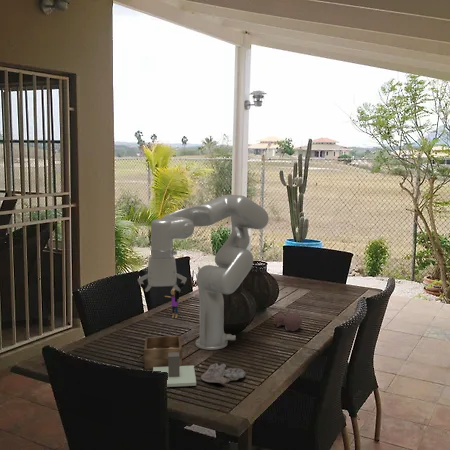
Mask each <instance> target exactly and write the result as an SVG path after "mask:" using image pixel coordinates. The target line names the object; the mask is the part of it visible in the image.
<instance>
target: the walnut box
mask: <svg viewBox="0 0 450 450" xmlns="http://www.w3.org/2000/svg"><path fill="white" fill-rule="evenodd" d="M181 337H182V336H181V335H169V336H166V335H165V336H145V337H144V348H143V353H144V354H143V358H144V370H153V367H168V353H173V352H179V365H180V366H183V362H182V361H183V359H182V358H183V356H182V355H183V354H182V353H183V350H182V349H183V348H182V347H183V346H182V338H181ZM169 347H173V348H169ZM153 348H157V349H153Z"/></svg>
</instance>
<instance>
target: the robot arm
mask: <svg viewBox="0 0 450 450" xmlns="http://www.w3.org/2000/svg"><path fill="white" fill-rule="evenodd" d="M229 217H230V223H231V230H230V231H231V232H230V235H229V237H228V238H227V239H226V241H225V242H224V243H223V244H222V246H220V248H219V250H218V251H216V254H215V257H214V262H215V265H212V264H207V265H204V266H202V267H200V268H199V269H198V272H197V275H196V285H197V289H198V298H199V301H198V302H199V307H198V308H199V314H198V315H199V316H198V318H199V323H198V324H199V333H198V334H199V338H197V339H196V340H195V346H196V347H197V348H199V349H202V350H208V351H214V350H216V351H217V350H220V349H224V348H225V347H227V346H228V341H236V335H235V334H234V335H232V334H231V333H225V331H224V326H225V324H224V321H225V320H224V319H225V316H224V308H225V305H224V304H225V302H224V301H225V300H224V295H231V294H233V293H234V292H235V291H237V289H238V288H239V287H240V285H241V284H242V283H243V281H244V280H245V278H246V277H247V276H248V275H249V273H250V271H251V270H252V268H253V265H254V256H253V254H252V252H251V251H250V250H249V249H247V248H248V246H249V244H250V236H249V229H252V230H262V229H264V228H265V227H266V226H267V225H268V222H269V214H268V212H267V211H266V209H265V208H263V206H261V205H259V204H258V203H256V201H253V200H252V199H251V198H249V197H247V196H244V195H238V194H224V195H221V196H219V197H216V198H214V199H212V200H210V201H207V202H204V203H203V204H202V203H201V204H198V205H195V206H190V207H185V208H180V209H178V210H176V211H173V212H171V213H168V214H166V215H164V216H162V218H158V219H157V218H156V219H153V220H152V221H150V240H151V241H150V250H151V252H150V254H151V256H150V257H149V259H148V266H147V273H146V274H144V275H142V276H141V277H138V278H137V282H138V285H139V286H140V288H142V289H143V291H145V300H146V301H147V303H148V304H149V303H151V288H152V287H155V288H157V287H172V286H173V287H174V288H175V302H177V299H178V300H180V299H179V298H180V293H179V290H181V289H183V287H184V286H185V284H186V282H187V279H188V278H187V277H185V276H183V275H182V274H181V273H177V263H176V258H175V256H176V255H177V254H178V252H177V250H174V249H173V242H174V241H173V240H179V239H180V240H183V239H188V238H190V237H191V236H193V234H194V232H195V227H206V226H207V227H208V226H212V225H214V224H216V223H218V222H221V221H223V220H225V219H227V218H229ZM177 279H180V280H181V282H180V283H179V284H177V283H178V282H177V281H178V280H177ZM145 280H147V285H146V284H145V283H144V281H145ZM173 287H172V288H173Z"/></svg>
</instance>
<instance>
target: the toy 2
mask: <svg viewBox="0 0 450 450" xmlns="http://www.w3.org/2000/svg"><path fill="white" fill-rule="evenodd" d="M273 322H274V325H276V327H281V326H284V328H285V330H286V331H290V332H295V331H297V330H298V329H299V328H300V327H301V326H302V325H303V320H302V318H301V316H300V315H299V314H298V313H296V312H287V313H286V314H284V313H283V312H279V313H276V314H275V316H274V318H273Z"/></svg>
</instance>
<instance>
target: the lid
mask: <svg viewBox="0 0 450 450" xmlns="http://www.w3.org/2000/svg"><path fill="white" fill-rule="evenodd" d="M153 371H161V372H167V373H168V380H167V387H166V388H170V387H171V388H173V387H189V386H190V387H192V386H195V387H196V386H197V377H196V371H195V365H193V364H192V365H182V366H180V365H179V352H173V353H168V367H153V369H152V372H153Z"/></svg>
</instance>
